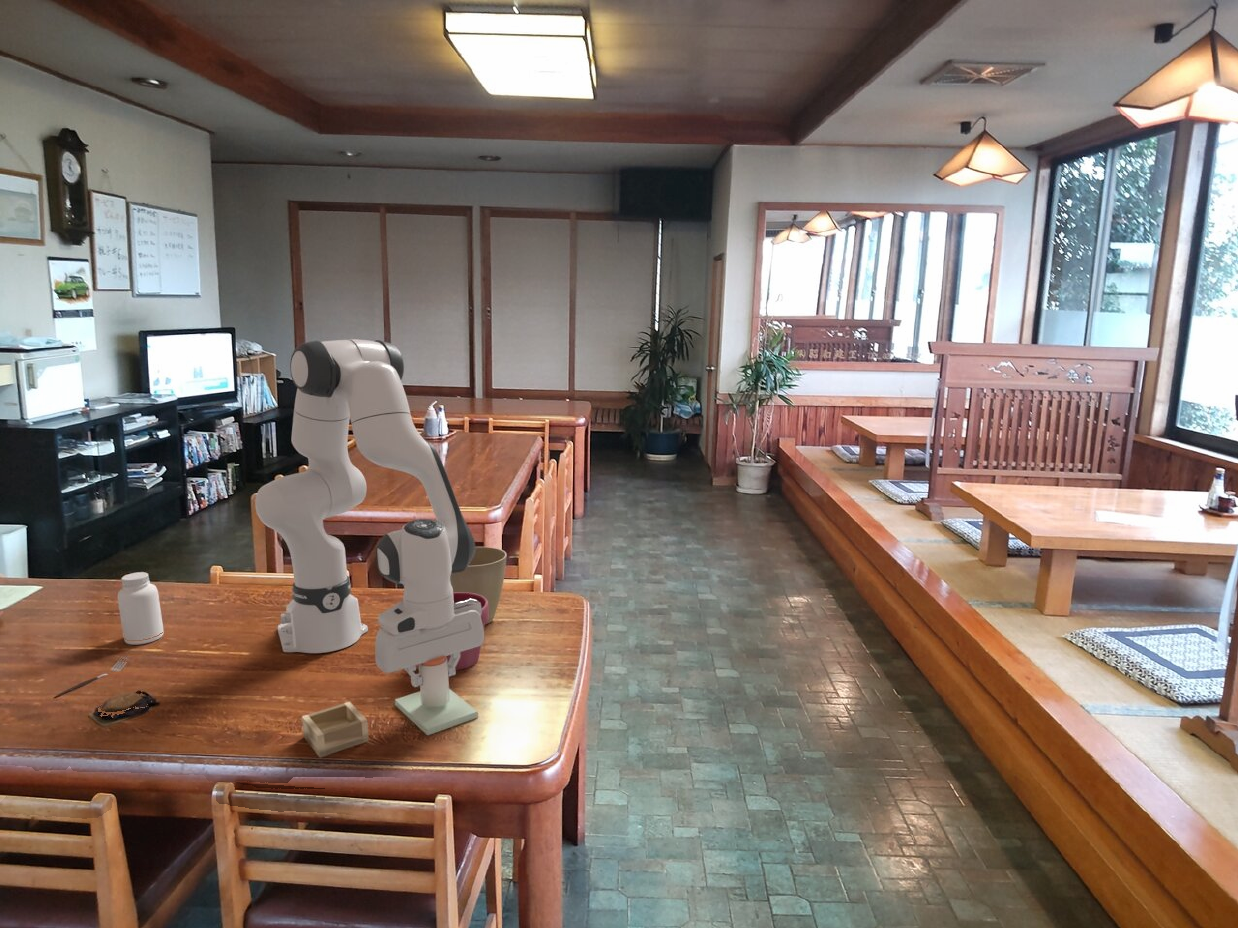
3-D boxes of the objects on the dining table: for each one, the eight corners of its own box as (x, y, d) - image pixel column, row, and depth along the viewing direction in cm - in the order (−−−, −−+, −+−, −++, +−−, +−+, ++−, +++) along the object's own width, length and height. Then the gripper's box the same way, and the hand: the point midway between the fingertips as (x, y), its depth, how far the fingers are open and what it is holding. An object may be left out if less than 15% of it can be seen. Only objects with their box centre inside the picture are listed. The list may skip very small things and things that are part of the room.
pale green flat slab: (395, 705, 158) (394, 699, 158) (443, 689, 164) (443, 683, 164) (427, 735, 147) (426, 729, 147) (478, 717, 153) (477, 711, 153)
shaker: (416, 699, 156) (413, 654, 154) (441, 691, 159) (439, 646, 157) (428, 710, 152) (425, 664, 150) (454, 701, 155) (451, 656, 153)
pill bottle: (115, 642, 188) (106, 579, 185) (147, 629, 196) (138, 568, 192) (141, 647, 185) (131, 583, 182) (172, 634, 193) (163, 572, 189)
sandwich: (103, 731, 152) (100, 713, 151) (86, 717, 157) (83, 698, 156) (165, 708, 160) (162, 690, 159) (146, 695, 165) (144, 678, 164)
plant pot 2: (477, 678, 169) (474, 618, 166) (411, 673, 171) (407, 614, 168) (499, 648, 182) (497, 593, 180) (438, 644, 185) (435, 589, 182)
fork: (49, 699, 163) (47, 689, 163) (122, 664, 178) (121, 656, 177) (58, 701, 162) (57, 691, 162) (131, 666, 177) (130, 657, 177)
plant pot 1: (520, 622, 196) (517, 557, 193) (461, 638, 188) (457, 570, 185) (492, 603, 208) (489, 542, 205) (435, 617, 200) (431, 553, 197)
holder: (303, 737, 147) (301, 716, 147) (351, 721, 152) (349, 701, 152) (319, 757, 141) (317, 736, 140) (368, 740, 146) (367, 719, 145)
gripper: (472, 591, 160) (475, 658, 163) (368, 617, 148) (374, 689, 151) (488, 600, 155) (491, 669, 158) (382, 629, 143) (388, 703, 146)
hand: (433, 679), depth 155 cm, fingers closed on shaker, 5 cm apart
